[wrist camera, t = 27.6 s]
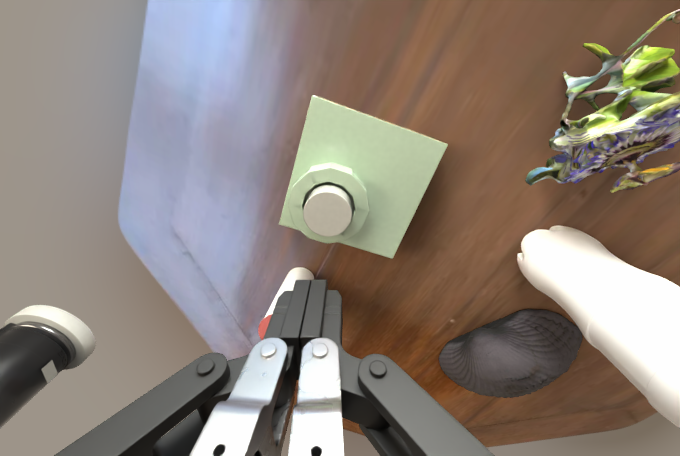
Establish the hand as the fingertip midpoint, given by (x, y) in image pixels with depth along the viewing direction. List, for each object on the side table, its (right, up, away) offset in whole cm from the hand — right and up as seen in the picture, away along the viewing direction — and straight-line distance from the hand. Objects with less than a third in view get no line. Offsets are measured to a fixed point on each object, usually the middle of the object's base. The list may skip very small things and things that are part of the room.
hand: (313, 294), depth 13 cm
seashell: (+25, -13, +25) cm, 38 cm away
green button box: (+3, +9, +15) cm, 18 cm away
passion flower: (+23, +14, +12) cm, 30 cm away
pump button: (0, +5, +11) cm, 12 cm away
